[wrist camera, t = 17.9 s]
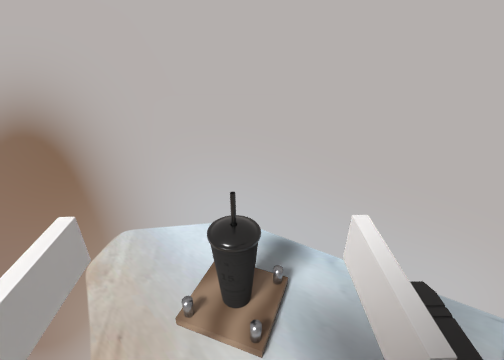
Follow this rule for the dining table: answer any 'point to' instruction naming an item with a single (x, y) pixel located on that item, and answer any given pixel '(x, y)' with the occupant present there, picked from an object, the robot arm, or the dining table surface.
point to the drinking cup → (234, 255)
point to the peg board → (235, 311)
